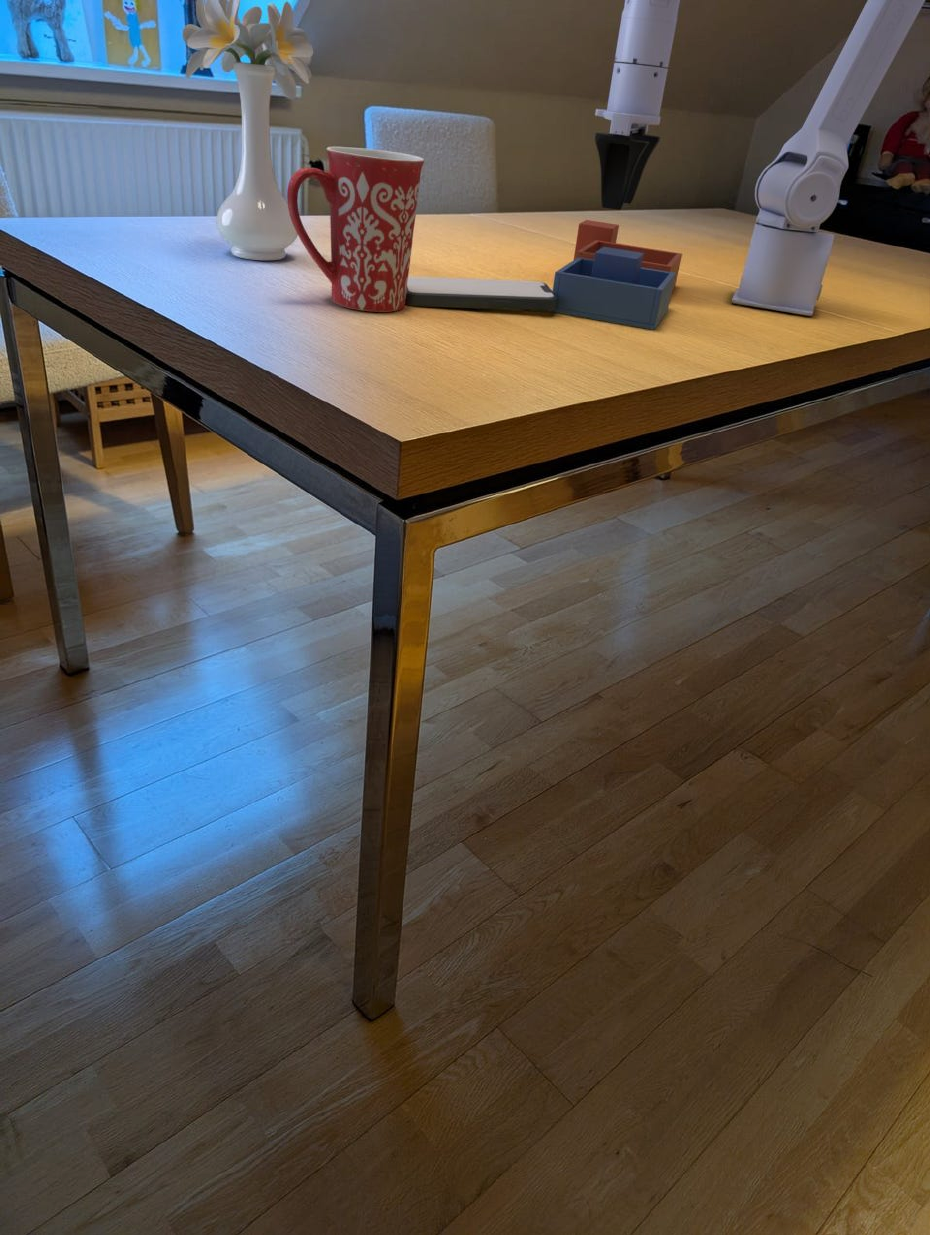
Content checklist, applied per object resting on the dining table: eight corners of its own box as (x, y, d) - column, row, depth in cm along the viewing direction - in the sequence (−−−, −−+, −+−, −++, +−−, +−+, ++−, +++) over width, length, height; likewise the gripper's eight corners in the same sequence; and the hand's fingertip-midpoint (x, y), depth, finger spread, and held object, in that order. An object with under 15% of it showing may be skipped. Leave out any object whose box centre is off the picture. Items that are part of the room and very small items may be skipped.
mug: (400, 293, 93) (408, 150, 86) (425, 315, 86) (436, 161, 79) (280, 290, 89) (278, 140, 82) (296, 313, 82) (296, 150, 75)
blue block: (633, 305, 98) (644, 253, 95) (627, 313, 94) (637, 258, 91) (594, 298, 99) (603, 246, 96) (586, 306, 95) (595, 252, 92)
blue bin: (668, 310, 100) (675, 273, 98) (654, 330, 91) (662, 289, 89) (572, 293, 102) (578, 257, 100) (549, 311, 93) (555, 271, 91)
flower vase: (317, 245, 112) (319, 8, 99) (306, 275, 96) (307, -2, 83) (212, 236, 110) (200, -7, 97) (183, 264, 95) (165, -20, 82)
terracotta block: (611, 268, 119) (619, 224, 116) (605, 273, 115) (613, 228, 113) (579, 263, 120) (586, 219, 117) (572, 268, 116) (579, 223, 114)
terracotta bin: (675, 286, 112) (682, 253, 110) (663, 302, 103) (671, 266, 101) (589, 272, 115) (595, 239, 113) (571, 286, 106) (576, 251, 104)
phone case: (404, 309, 89) (559, 314, 91) (404, 293, 88) (560, 298, 90) (400, 290, 96) (543, 295, 98) (400, 275, 96) (545, 280, 98)
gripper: (615, 64, 100) (594, 195, 107) (591, 58, 88) (569, 206, 95) (677, 71, 99) (651, 203, 106) (661, 66, 87) (634, 215, 94)
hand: (616, 205), depth 101 cm, fingers open, 7 cm apart
